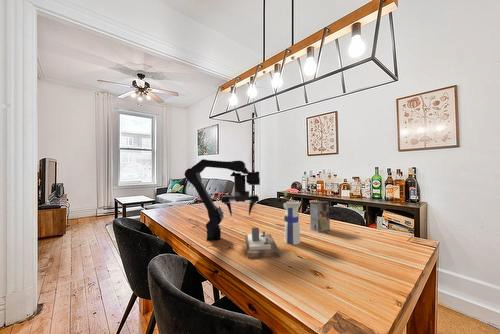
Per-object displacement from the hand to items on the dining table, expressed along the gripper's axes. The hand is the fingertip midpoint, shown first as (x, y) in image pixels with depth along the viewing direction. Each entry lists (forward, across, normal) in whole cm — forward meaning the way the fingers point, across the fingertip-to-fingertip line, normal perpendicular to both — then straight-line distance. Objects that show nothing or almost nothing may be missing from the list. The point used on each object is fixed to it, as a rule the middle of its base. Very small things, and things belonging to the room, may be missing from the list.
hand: (240, 215), depth 110 cm
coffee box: (+12, +46, +10) cm, 49 cm away
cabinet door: (+10, +8, -12) cm, 18 cm away
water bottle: (+12, +25, -7) cm, 29 cm away
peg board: (+12, +9, -12) cm, 19 cm away
